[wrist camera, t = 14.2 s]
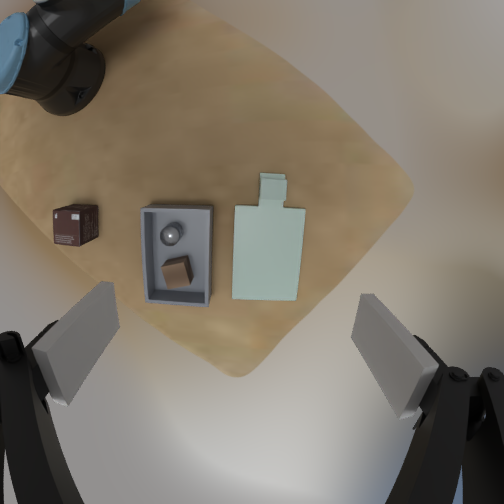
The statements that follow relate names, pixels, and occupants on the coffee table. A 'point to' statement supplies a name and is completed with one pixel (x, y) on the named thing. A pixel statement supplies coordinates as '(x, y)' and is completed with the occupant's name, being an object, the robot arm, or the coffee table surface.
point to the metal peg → (171, 234)
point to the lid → (267, 244)
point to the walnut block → (177, 272)
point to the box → (75, 224)
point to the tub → (177, 252)
